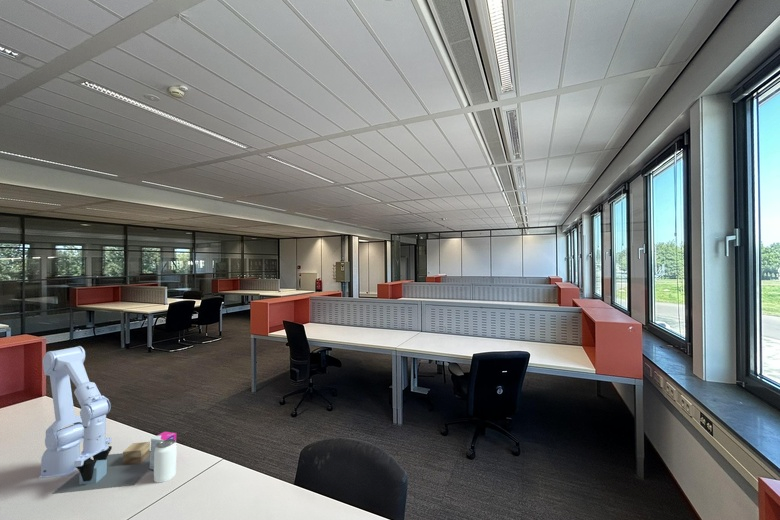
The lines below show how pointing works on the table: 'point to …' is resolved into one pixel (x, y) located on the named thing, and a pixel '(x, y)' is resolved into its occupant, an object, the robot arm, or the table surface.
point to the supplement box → (156, 440)
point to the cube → (96, 472)
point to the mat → (110, 475)
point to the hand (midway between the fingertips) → (93, 475)
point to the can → (165, 460)
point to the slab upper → (136, 450)
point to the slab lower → (136, 459)
